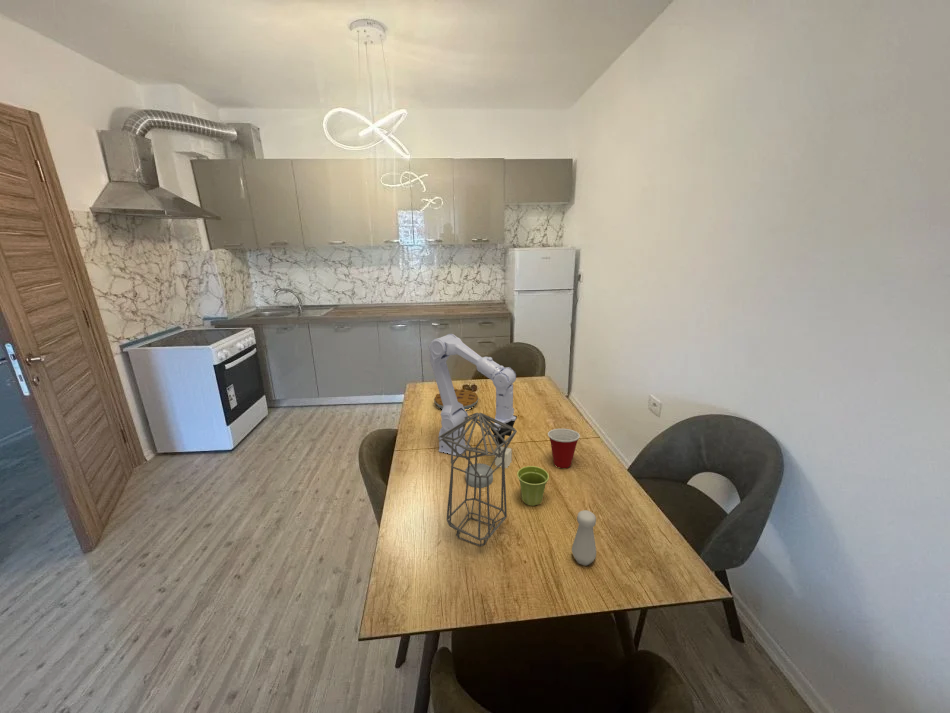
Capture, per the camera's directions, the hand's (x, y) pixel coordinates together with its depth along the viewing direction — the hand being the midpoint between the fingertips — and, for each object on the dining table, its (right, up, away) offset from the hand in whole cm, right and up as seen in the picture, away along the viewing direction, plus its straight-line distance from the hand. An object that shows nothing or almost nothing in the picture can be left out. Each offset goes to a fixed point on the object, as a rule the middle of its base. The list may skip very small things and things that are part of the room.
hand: (504, 440), depth 132 cm
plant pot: (+7, -15, -17) cm, 23 cm away
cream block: (0, -9, +3) cm, 9 cm away
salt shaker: (+17, -21, -39) cm, 47 cm away
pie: (-19, +5, +55) cm, 58 cm away
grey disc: (-9, -12, -6) cm, 16 cm away
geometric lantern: (-9, -19, -29) cm, 36 cm away
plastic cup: (+21, -9, +2) cm, 23 cm away
